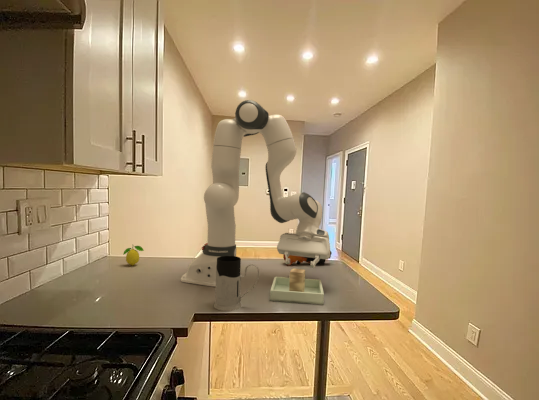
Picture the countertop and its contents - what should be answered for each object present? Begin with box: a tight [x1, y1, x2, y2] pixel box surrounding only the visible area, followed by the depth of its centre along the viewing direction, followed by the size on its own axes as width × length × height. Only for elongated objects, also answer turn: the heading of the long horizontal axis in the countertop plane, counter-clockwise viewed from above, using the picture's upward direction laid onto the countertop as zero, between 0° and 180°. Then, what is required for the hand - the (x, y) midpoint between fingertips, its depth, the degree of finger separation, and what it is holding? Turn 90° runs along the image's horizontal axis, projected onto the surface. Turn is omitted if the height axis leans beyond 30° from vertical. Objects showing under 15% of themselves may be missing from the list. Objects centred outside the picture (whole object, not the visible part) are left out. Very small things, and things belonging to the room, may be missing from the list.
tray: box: [269, 276, 325, 306], centre depth 107 cm, size 18×16×4 cm
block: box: [289, 267, 306, 292], centre depth 107 cm, size 4×4×8 cm
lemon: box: [123, 245, 145, 267], centre depth 137 cm, size 7×6×10 cm
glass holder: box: [213, 255, 260, 312], centre depth 95 cm, size 9×14×15 cm, turn 82°
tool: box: [282, 250, 332, 267], centre depth 149 cm, size 8×23×15 cm, turn 98°
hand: (299, 265), depth 110 cm, fingers open, 8 cm apart
